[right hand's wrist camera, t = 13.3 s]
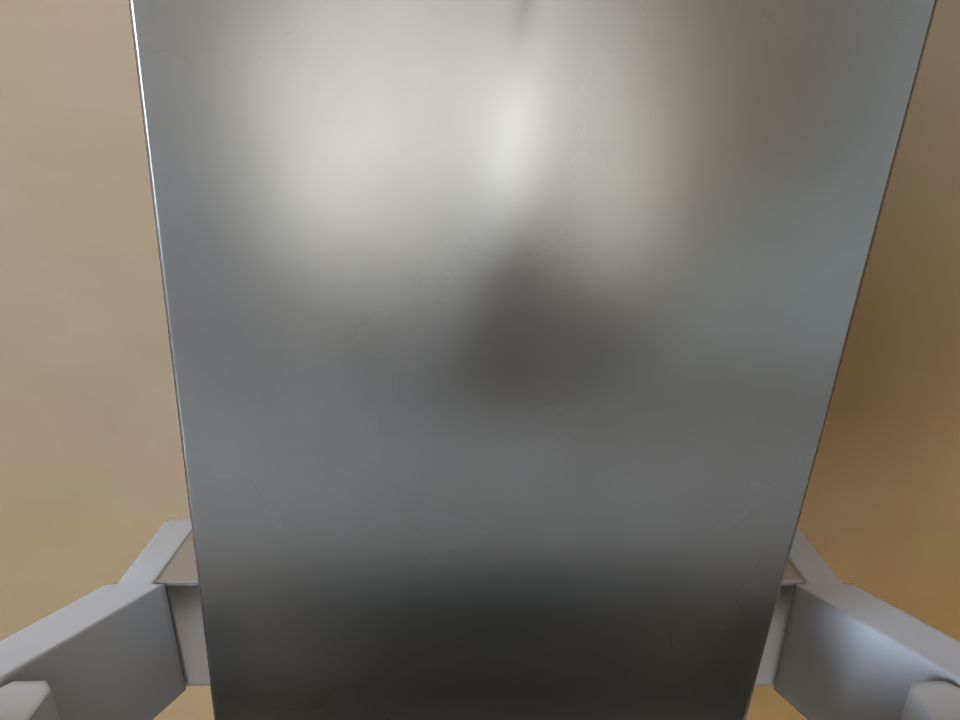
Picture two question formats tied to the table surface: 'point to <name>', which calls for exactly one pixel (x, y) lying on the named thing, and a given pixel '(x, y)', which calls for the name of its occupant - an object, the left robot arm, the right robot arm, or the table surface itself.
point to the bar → (508, 335)
